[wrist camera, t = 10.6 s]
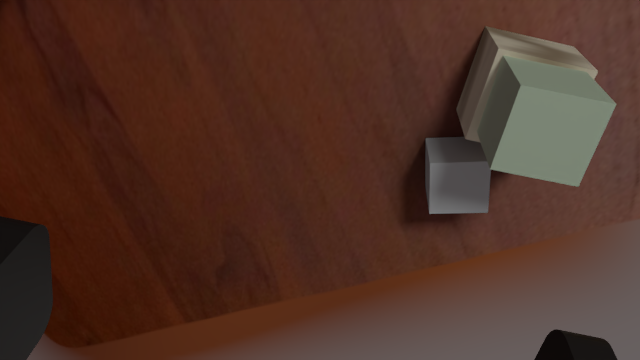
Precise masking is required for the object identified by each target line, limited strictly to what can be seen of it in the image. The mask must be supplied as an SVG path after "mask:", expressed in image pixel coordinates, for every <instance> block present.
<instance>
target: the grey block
mask: <svg viewBox="0 0 640 360" xmlns="http://www.w3.org/2000/svg"><path fill="white" fill-rule="evenodd" d="M490 175H491V169H490V168H489V165H488V162H487V159H486V156H485V154H484V151H483V148H482V145H481V142H476V141H472V140H467V139H465V137H443V138H426V151H425V188H426V195H427V202H428V208H429V214H448V213H488V204H489V190H490Z"/></svg>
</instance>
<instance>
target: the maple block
mask: <svg viewBox="0 0 640 360" xmlns="http://www.w3.org/2000/svg"><path fill="white" fill-rule="evenodd" d="M503 55H504V56H509V57H514V58H519V59H524V60H529V61H534V62H539V63H544V64H549V65H554V66H559V67H564V68H569V69H574V70H579V71H584V72H587V73H588V74H589V75H590V76H591V77H592V78H593V79H595V77H596V75H597V72H598V71H597V70H596V69H595V68H594V67H593V66H592V65H591V64H590V62H589V61H588V60H587V59H586V58H585V57H584V56H583V55H582V54H581V53H580V52H579V51H578V50H577V49H576V48H575V47H573V46H569V45H564V44H560V43H556V42H551V41H547V40H543V39H538V38H534V37H530V36H525V35H521V34H517V33H512V32H508V31H504V30H499V29H495V28H491V27H487V26H485V28H484V31H483V34H482V37H481V40H480V43H479V46H478V48H477V51H476V54H475V57H474V60H473V63H472V66H471V68H470V71H469V74H468V77H467V80H466V83H465V86H464V88H463V91H462V94H461V97H460V100H459V103H458V106H457V108H456V110H457V114H458V117H459V120H460V124H461V127H462V130H463V133H464V137H465V139H467V140H472V141H476V142H480V139H479V136H478V133H477V130H478V127H479V124H480V121H481V118H482V115H483V112H484V109H485V107H486V104H487V101H488V98H489V95H490V92H491V89H492V86H493V83H494V80H495V77H496V74H497V71H498V69H499V66H500V63H501V60H502V57H503Z"/></svg>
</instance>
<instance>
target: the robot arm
mask: <svg viewBox="0 0 640 360" xmlns="http://www.w3.org/2000/svg"><path fill="white" fill-rule="evenodd" d="M52 301H53V297H52V279H51V261H50V243H49V233H48V230H47V228H46V227H45V226H44V225H41V224H36V223H31V222H26V221H21V220H16V219H11V218H6V217H1V216H0V360H26V359H27V358H28V356H29V355H30V353H31V352H32V350H33V349H34V348H35V345H37V343H38V342H39V340H40V338H41V337H42V335H43V333H44V331H45V329H46V327H47V324H48V321H49V318H50V314H51V309H52ZM535 360H617V358H616V356H615V354H614V352H613V349H612V348H611V346H610V344H609V343H608V342H607V341H606V340H604V339H601V338H596V337H592V336H587V335H582V334H577V333H572V332H567V331H562V330H553V331H551V332H550V333H549V334H548V335H547V337H546V339H545V341H544V342H543V344H542V346H541V348H540V350H539V352H538V354H537V356H536V358H535Z"/></svg>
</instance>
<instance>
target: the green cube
mask: <svg viewBox="0 0 640 360" xmlns="http://www.w3.org/2000/svg"><path fill="white" fill-rule="evenodd" d="M615 106H616V103H615V102H614V101H613V100H612V99H611V98H610V97H609V96H608V94H607V93H606V92H605V91H604V90H603V89H602V88H601V87H600V86H599V85H598V84H597V83H596V82H595V80H594V79H593V78H592V77H591V76H590V75H589V74H588V73H587V72H584V71H579V70H574V69H569V68H564V67H559V66H554V65H549V64H544V63H539V62H534V61H529V60H524V59H519V58H514V57H509V56H504V55H503V57H502V60H501V63H500V66H499V69H498V71H497V74H496V77H495V80H494V83H493V86H492V89H491V92H490V95H489V98H488V101H487V104H486V107H485V109H484V112H483V115H482V118H481V121H480V124H479V127H478V130H477V133H478V136H479V139H480V142H481V145H482V148H483V151H484V154H485V156H486V159H487V162H488V165H489V168H490V169H491V170H496V171H501V172H506V173H511V174H516V175H521V176H526V177H531V178H536V179H541V180H547V181H552V182H557V183H562V184H567V185H572V186H577V187H578V186H579V184H580V182H581V180H582V178H583V176H584V173H585V171H586V169H587V167H588V165H589V163H590V160H591V158H592V156H593V154H594V152H595V150H596V147H597V145H598V143H599V141H600V139H601V137H602V134H603V132H604V130H605V128H606V126H607V124H608V121H609V119H610V117H611V115H612V113H613V110H614V108H615Z"/></svg>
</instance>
